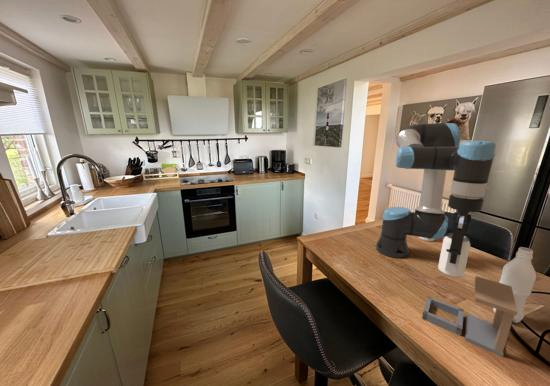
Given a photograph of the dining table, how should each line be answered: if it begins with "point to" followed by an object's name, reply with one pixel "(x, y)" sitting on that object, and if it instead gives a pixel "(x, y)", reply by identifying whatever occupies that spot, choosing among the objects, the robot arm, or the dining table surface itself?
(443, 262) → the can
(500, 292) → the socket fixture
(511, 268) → the water bottle
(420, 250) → the dining table surface
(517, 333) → the dining table surface
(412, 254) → the dining table surface
